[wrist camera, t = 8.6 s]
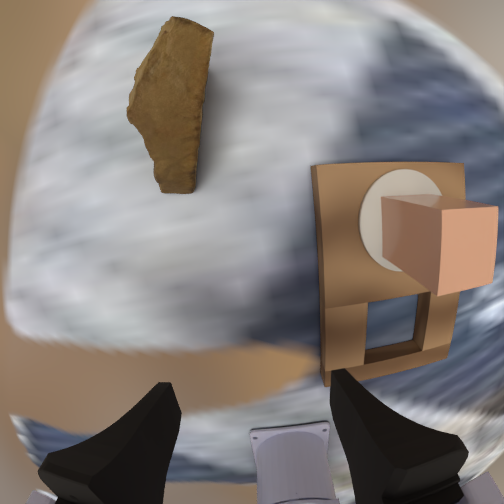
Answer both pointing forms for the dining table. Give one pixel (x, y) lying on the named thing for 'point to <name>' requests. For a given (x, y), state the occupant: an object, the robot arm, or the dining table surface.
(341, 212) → the walnut board
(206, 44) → the rock
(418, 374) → the dining table surface
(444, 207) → the terracotta block
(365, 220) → the cream disc
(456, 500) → the robot arm
